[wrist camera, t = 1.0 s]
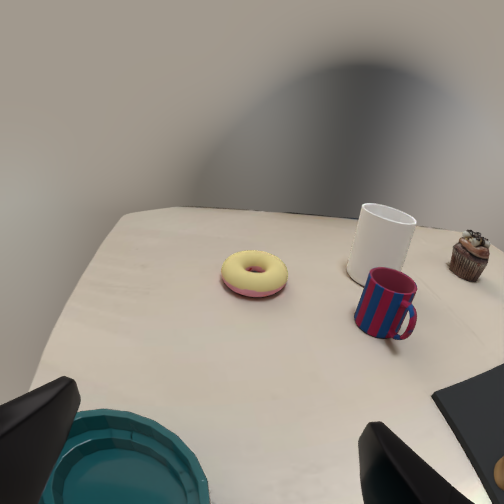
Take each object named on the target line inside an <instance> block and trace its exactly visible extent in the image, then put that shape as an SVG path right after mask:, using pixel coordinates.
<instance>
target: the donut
mask: <svg viewBox="0 0 504 504" xmlns="http://www.w3.org/2000/svg"><path fill="white" fill-rule="evenodd" d="M250 271H254V272H260V273H253V272H250ZM221 274H222V278H223V281H224V282H225V284H226V285H227V286H228V287H229V288H230V289H232V290H233V291H235V292H237V293H239V294H241V295H245V296H250V297H264V296H269V295H272V294H274V293H276V292H278V291H280V290H281V289H282V288H283V287H284V285H285V284H286V282H287V279H288V271H287V268H286V266H285V264H284V263H283V262H282V261H281V260H280V259H279V258H278V257H276V256H274V255H272V254H270V253H267V252H263V251H256V250H247V251H241V252H237V253H235V254H233V255H231V256H229V257H228V258H227V259H226V260H225V262H224V263H223V265H222V269H221Z"/></svg>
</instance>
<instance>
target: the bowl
mask: <svg viewBox="0 0 504 504" xmlns="http://www.w3.org/2000/svg"><path fill="white" fill-rule="evenodd" d="M38 504H210V499H209V489H208V481H207V478H206V476H205V474H204V472H203V470H202V468H201V466H200V463H199V461H198V459H197V457H196V456H195V454H194V453H193V452H192V451H191V450H190V449H189V448H188V447H187V446H186V444H185V443H184V442H183V441H182V440H181V439H180V438H179V437H178V436H177V435H176V434H174V433H173V432H171V431H170V430H168V429H166V428H165V427H163V426H162V425H160V424H159V423H157V422H156V421H154V420H151V419H148V418H146V417H143V416H140V415H137V414H135V413H132V412H128V411H119V410H111V409H96V410H88V411H80V412H77V413H76V416H75V419H74V422H73V425H72V427H71V430H70V433H69V436H68V438H67V441H66V443H65V445H64V447H63V449H62V452H61V454H60V456H59V458H58V460H57V462H56V464H55V467H54V469H53V471H52V473H51V475H50V478H49V480H48V482H47V484H46V487H45V489H44V491H43V494H42V496H41V498H40V501H39V503H38Z"/></svg>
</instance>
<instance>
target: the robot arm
mask: <svg viewBox="0 0 504 504" xmlns="http://www.w3.org/2000/svg"><path fill="white" fill-rule="evenodd" d="M80 402H81V398H80V394H79V391H78V388H77V384H76V382H75V380H74V379H71V378H69V377H66V376H62V377H60V378H58V379H56V380H53V381H51V382H49V383H47V384H45V385H43V386H41V387H39V388H37V389H35V390H32V391H30V392H28V393H26V394H24V395H22V396H20V397H18V398H15V399H13V400H11V401H9V402H7V403H5V404H3V405H0V504H38V503H39V501H40V498H41V496H42V494H43V491H44V489H45V487H46V484H47V482H48V480H49V478H50V475H51V473H52V471H53V469H54V467H55V464H56V462H57V460H58V458H59V456H60V454H61V452H62V449H63V447H64V445H65V443H66V441H67V438H68V436H69V433H70V430H71V427H72V425H73V422H74V419H75V416H76V413H77V411H78V408H79V405H80ZM358 448H359V463H360V481H361V489H362V495H363V501H364V504H474V503H473V502H472V501H470V500H469V499H468V498H466V497H465V496H464V495H463V494H461V493H460V492H459V491H458V490H457V489H456V488H454V487H453V486H452V485H451V484H450V483H449V482H447V481H446V480H445V479H444V478H443V477H442V476H441V475H439V474H438V473H437V472H436V471H435V470H434V469H433V468H432V467H431V466H429V465H428V464H427V463H426V462H425V461H424V460H423V459H422V458H421V457H419V456H418V455H417V454H416V453H415V452H414V451H413V450H412V449H411V448H410V447H408V446H407V445H406V444H405V443H404V442H403V441H402V440H401V439H400V438H399V437H398V436H397V435H396V434H394V433H393V432H392V431H391V430H390V429H389V428H388V427H387V426H386V425H385V424H384V423H382V422H380V421H378V422H369V423H368V424H367V426H366V427H365V429H364V431H363V433H362V434H361V436H360V438H359V441H358Z"/></svg>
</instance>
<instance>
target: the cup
mask: <svg viewBox="0 0 504 504" xmlns="http://www.w3.org/2000/svg"><path fill="white" fill-rule="evenodd" d="M416 291H417V285H416V283H415V282H414V281H413V280H412V279H411V278H410V277H409V276H407V275H406V274H404V273H402V272H400V271H398V270H395V269H391V268H387V267H376V268H373V269H371V270H370V272H369V274H368V278H367V281H366V284H365V287H364V289H363V292H362V295H361V298H360V301H359V304H358V307H357V309H356V312H355V315H354V319H355V322H356V324H357V325H358V327H359V328H360V329H361V330H363V331H364V332H365V333H367V334H369V335H371V336H374V337H377V338H391V337H392V338H393V339H396V340H403V339H406V338H408V337H409V336H410V335H411V333H412V332H413V330H414V328H415V325H416V321H417V312H416V309H415V308H414V306H413V305H412V304H411V303H412V301H413V298H414V296H415V294H416ZM408 310H409V314H410V320H409V324H408V327H407V329H406V331H405V332H404V334H403V335H401V336H400V335H398V334H397V333H398V331H399V329H400V327H401V325H402V323H403V321H404V319H405V317H406V314H407V312H408Z"/></svg>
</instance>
